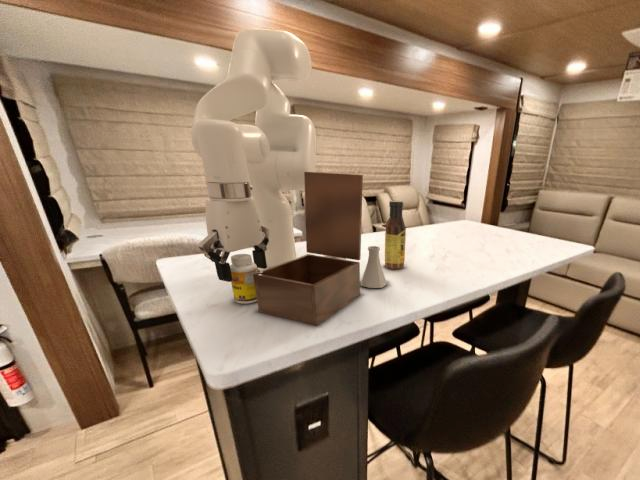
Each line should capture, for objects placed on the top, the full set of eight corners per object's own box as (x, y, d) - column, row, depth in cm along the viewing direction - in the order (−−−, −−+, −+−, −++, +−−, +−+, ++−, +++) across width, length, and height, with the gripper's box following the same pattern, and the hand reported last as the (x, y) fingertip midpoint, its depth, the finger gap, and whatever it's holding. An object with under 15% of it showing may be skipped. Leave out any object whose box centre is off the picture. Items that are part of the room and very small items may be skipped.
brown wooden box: (317, 325, 60) (314, 286, 57) (258, 311, 65) (252, 274, 62) (360, 294, 75) (359, 262, 72) (310, 285, 80) (307, 254, 77)
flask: (383, 290, 79) (384, 252, 75) (356, 287, 80) (355, 249, 76) (389, 281, 85) (390, 245, 81) (364, 278, 86) (364, 243, 82)
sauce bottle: (404, 270, 94) (407, 202, 87) (383, 269, 94) (385, 201, 86) (404, 264, 100) (407, 200, 93) (385, 263, 100) (386, 199, 93)
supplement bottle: (230, 299, 70) (221, 255, 66) (254, 293, 74) (247, 251, 70) (241, 306, 67) (233, 261, 63) (266, 299, 71) (259, 256, 66)
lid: (361, 174, 66) (370, 176, 70) (304, 171, 70) (316, 173, 74) (358, 260, 71) (367, 257, 76) (306, 252, 76) (317, 249, 80)
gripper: (249, 188, 70) (260, 261, 77) (173, 193, 55) (195, 283, 62) (276, 190, 67) (285, 265, 74) (204, 196, 52) (223, 289, 59)
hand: (244, 273), depth 68 cm, fingers open, 9 cm apart
